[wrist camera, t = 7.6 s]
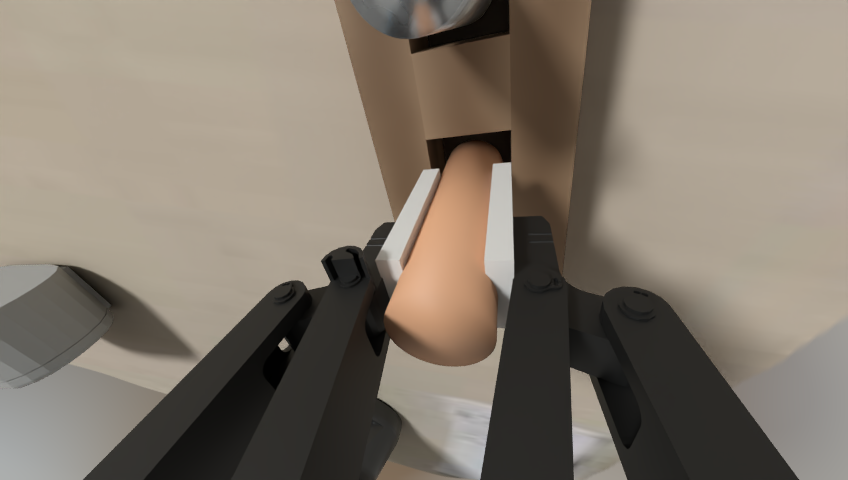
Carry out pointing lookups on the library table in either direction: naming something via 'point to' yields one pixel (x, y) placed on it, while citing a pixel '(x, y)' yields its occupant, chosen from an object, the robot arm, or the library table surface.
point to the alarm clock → (45, 321)
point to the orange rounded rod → (450, 269)
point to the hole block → (479, 101)
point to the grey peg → (419, 15)
